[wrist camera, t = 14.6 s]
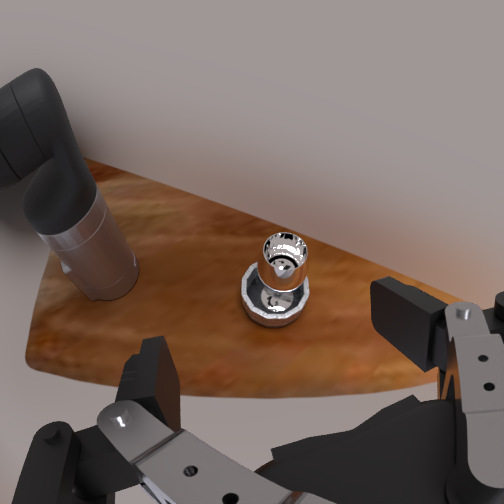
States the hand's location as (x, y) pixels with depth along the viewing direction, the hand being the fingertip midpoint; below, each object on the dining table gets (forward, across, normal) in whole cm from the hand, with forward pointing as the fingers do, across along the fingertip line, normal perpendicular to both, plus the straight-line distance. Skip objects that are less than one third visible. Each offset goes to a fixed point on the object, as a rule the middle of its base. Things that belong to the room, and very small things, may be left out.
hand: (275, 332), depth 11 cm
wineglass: (+30, -6, +12) cm, 33 cm away
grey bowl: (+30, -6, +12) cm, 33 cm away
